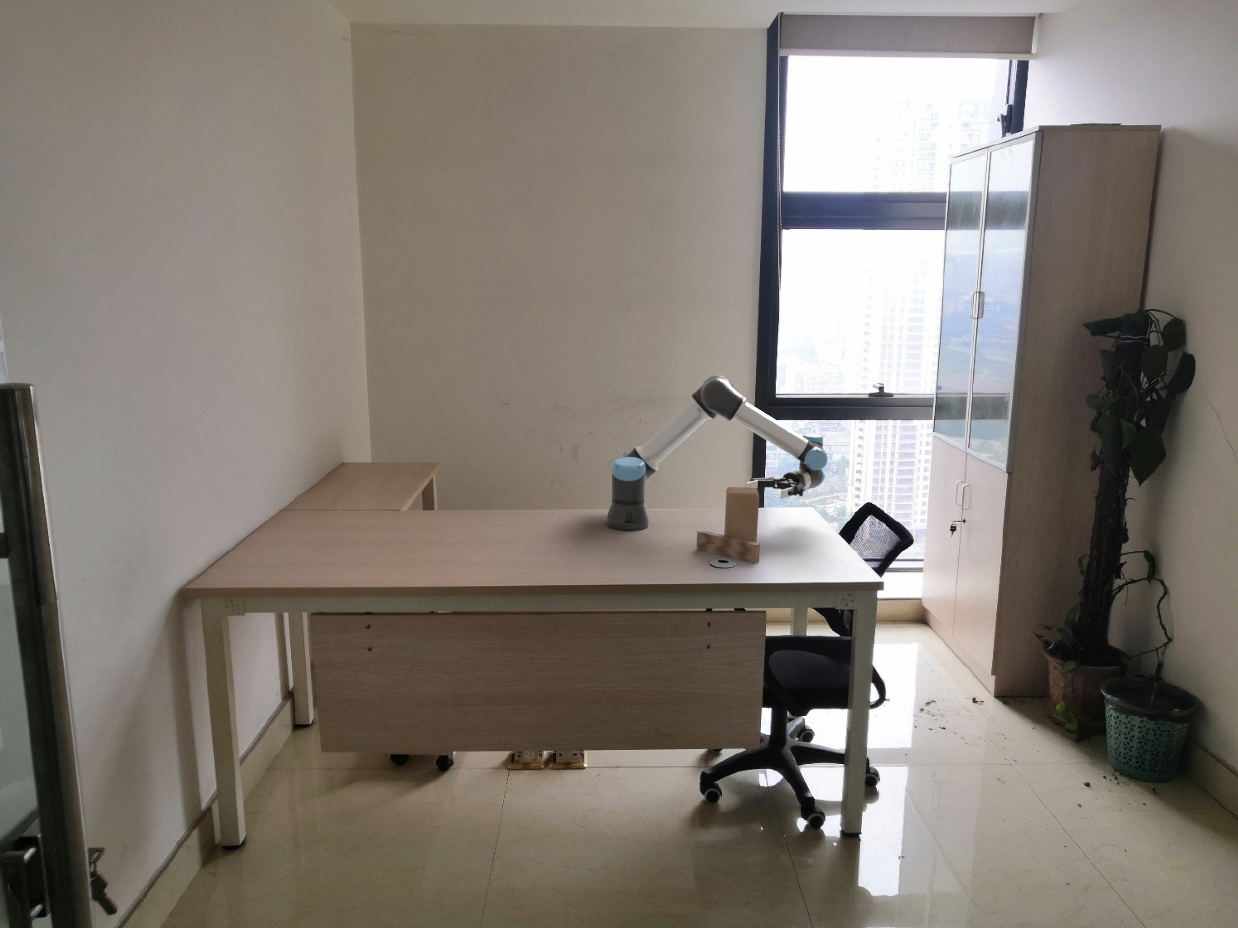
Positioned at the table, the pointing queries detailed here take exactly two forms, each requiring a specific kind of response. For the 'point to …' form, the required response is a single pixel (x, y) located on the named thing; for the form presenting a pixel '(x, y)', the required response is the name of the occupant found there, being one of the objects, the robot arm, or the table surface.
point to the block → (741, 513)
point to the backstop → (728, 546)
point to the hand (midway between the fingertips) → (764, 490)
